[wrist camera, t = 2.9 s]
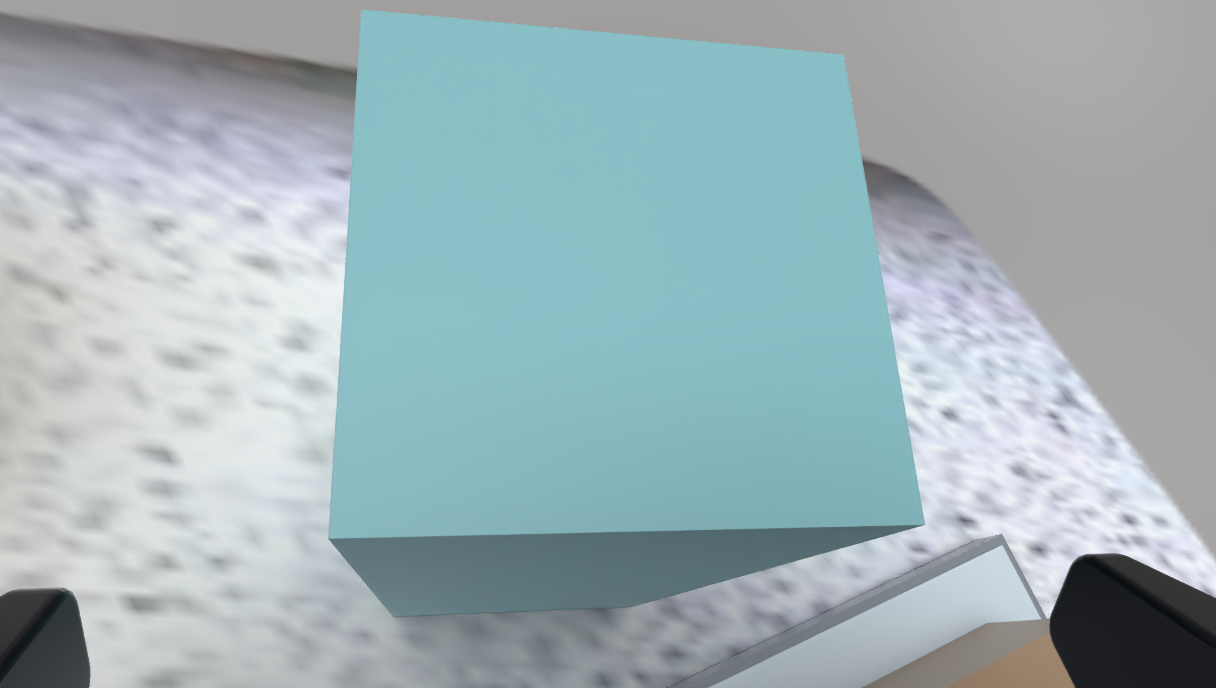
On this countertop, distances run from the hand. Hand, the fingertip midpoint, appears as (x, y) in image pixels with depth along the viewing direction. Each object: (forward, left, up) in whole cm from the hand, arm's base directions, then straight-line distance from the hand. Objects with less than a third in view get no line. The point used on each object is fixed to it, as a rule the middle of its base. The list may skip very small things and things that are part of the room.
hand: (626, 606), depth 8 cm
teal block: (+1, +3, -11) cm, 12 cm away
